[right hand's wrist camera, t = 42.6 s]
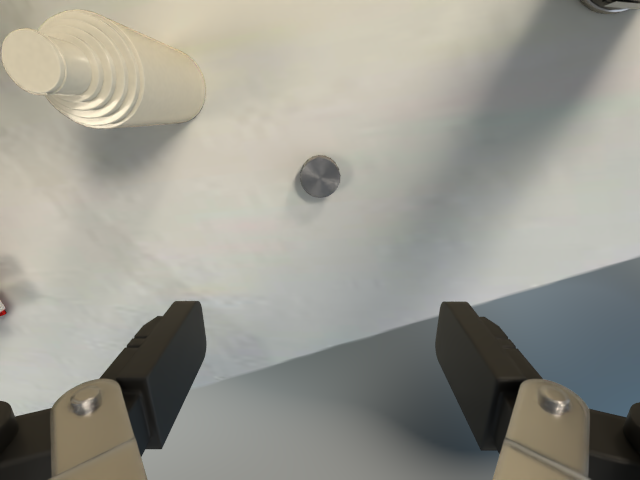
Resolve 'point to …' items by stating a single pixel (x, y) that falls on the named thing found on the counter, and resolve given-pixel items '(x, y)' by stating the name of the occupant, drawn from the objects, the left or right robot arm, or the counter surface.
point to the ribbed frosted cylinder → (104, 72)
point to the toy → (2, 309)
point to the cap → (320, 176)
